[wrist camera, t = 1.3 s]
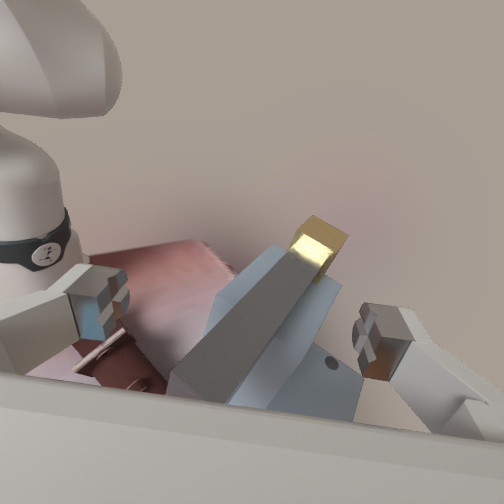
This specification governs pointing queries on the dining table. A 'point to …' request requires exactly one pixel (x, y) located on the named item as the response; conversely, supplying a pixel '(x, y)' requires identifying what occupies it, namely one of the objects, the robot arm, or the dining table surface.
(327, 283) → the stepped stand
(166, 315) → the dining table surface
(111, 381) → the bracket
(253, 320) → the bar
